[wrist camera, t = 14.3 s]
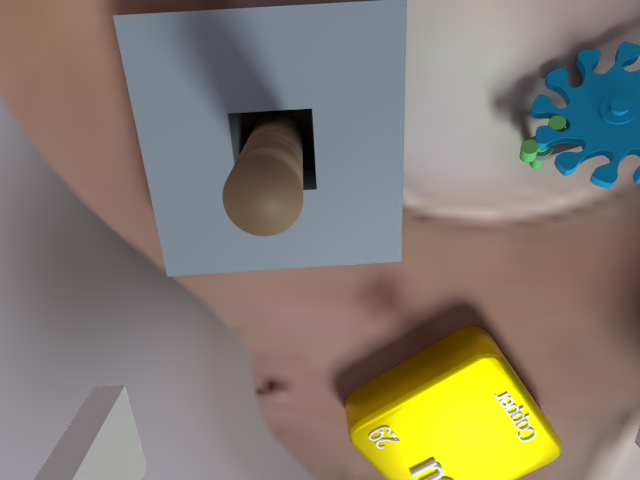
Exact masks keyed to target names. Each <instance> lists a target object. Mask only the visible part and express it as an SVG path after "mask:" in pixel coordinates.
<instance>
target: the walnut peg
mask: <svg viewBox="0 0 640 480" xmlns="http://www.w3.org/2000/svg"><path fill="white" fill-rule="evenodd" d="M222 199H223V205H224V209H225V211H226V213H227V215H228V217H229V218H230V220H231V221H232V222H233V223H234V224H235V225H236V226H237V227H238V228H240V229H241V230H243V231H245V232H247V233H249V234H252V235H256V236H272V235H276V234H279V233H282V232H284V231H285V230H287V229H288V228H290V227H291V226H292V225H293V224H294V223H295V222H296V220H297V219H298V217H299V215H300V213H301V210H302V207H303V145H302V130H301V127H300V125H299V123H298V122H297V121H296V120H295V119H294V118H293V117H292V116H291V115H289V114H287V113H284V112H270V113H267V114H265V115H264V116H262V117H261V118H260V119H259V120H258V122H257V123H256V125H255V127H254V129H253V131H252V133H251V135H250V136H249V138H248V140H247V142H246V144H245V146H244V148H243V150H242V152H241V153H240V155H239V157H238V159H237V161H236V163H235V165H234V167H233V169H232V170H231V172H230V174H229V176H228V178H227V180H226V182H225V184H224V188H223V194H222Z"/></svg>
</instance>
